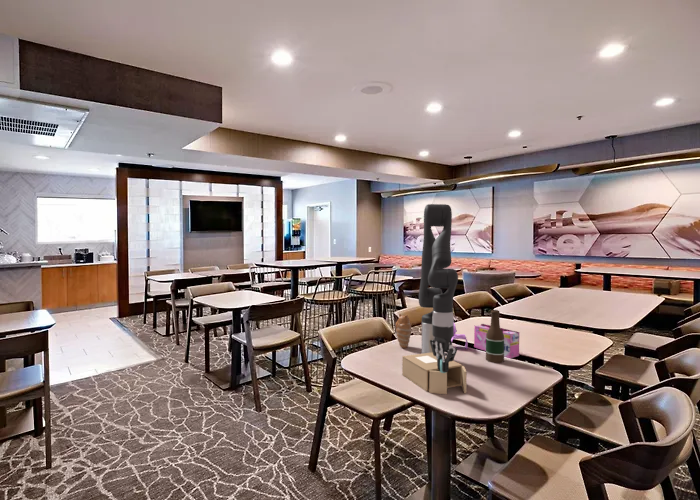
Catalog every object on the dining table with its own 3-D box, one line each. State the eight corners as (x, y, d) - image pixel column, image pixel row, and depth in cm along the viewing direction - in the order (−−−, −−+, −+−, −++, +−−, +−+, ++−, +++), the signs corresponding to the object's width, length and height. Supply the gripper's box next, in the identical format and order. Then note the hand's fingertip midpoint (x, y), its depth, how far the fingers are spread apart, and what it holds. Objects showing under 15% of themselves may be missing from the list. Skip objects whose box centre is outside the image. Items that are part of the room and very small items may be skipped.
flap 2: (461, 386, 142) (461, 365, 142) (463, 386, 142) (463, 365, 142) (464, 393, 136) (464, 371, 136) (466, 393, 136) (466, 371, 136)
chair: (468, 352, 185) (468, 323, 185) (449, 351, 187) (450, 322, 186) (465, 348, 193) (466, 319, 193) (448, 347, 195) (448, 318, 195)
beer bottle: (485, 363, 168) (485, 311, 168) (486, 358, 176) (486, 308, 175) (504, 365, 166) (504, 312, 165) (503, 360, 173) (504, 309, 172)
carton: (434, 370, 160) (435, 351, 160) (461, 385, 143) (462, 364, 143) (402, 375, 154) (402, 355, 154) (426, 391, 137) (426, 369, 137)
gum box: (471, 349, 191) (471, 324, 191) (480, 347, 195) (481, 323, 195) (510, 361, 172) (510, 334, 172) (519, 358, 176) (520, 332, 176)
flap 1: (429, 393, 135) (429, 359, 135) (429, 391, 138) (429, 357, 137) (446, 395, 134) (447, 360, 134) (446, 392, 136) (447, 359, 136)
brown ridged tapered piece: (392, 348, 193) (392, 314, 192) (402, 345, 198) (402, 312, 197) (405, 352, 186) (405, 316, 186) (415, 349, 191) (415, 314, 191)
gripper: (423, 320, 140) (423, 366, 140) (446, 328, 127) (446, 378, 127) (439, 318, 142) (439, 363, 143) (463, 326, 130) (463, 375, 130)
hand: (442, 370), depth 135 cm, fingers closed on flap 1, 2 cm apart
